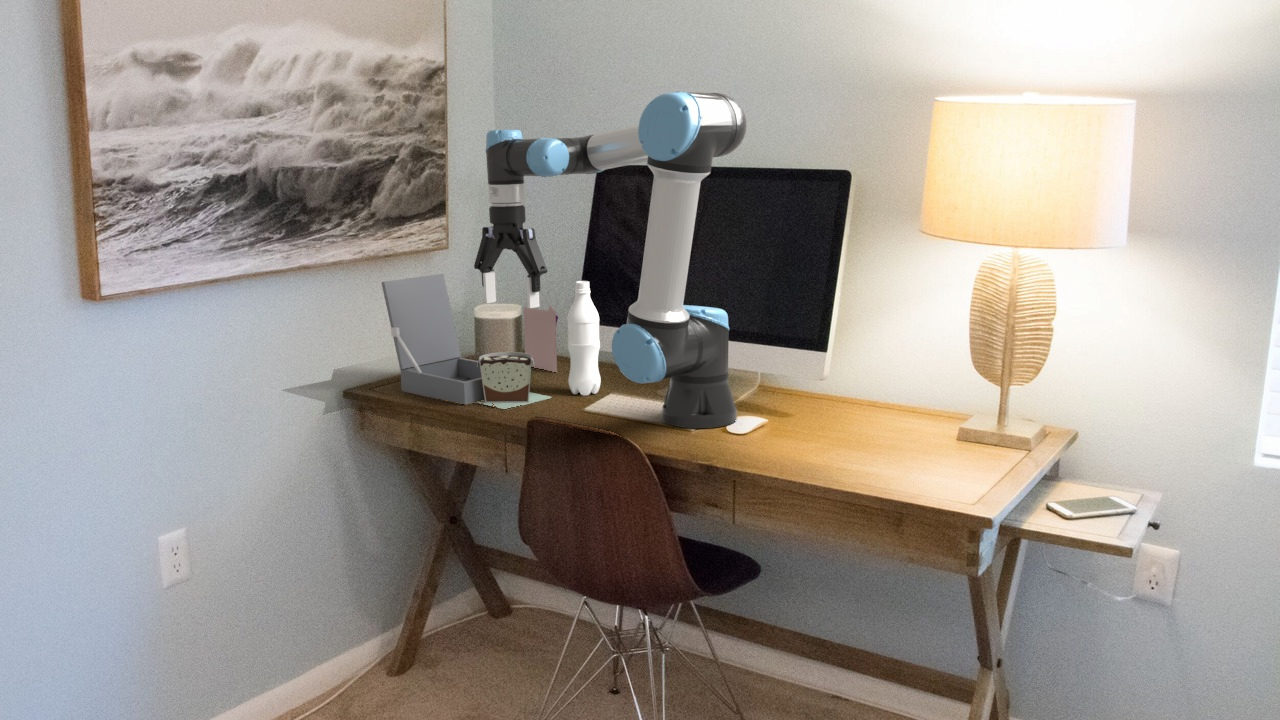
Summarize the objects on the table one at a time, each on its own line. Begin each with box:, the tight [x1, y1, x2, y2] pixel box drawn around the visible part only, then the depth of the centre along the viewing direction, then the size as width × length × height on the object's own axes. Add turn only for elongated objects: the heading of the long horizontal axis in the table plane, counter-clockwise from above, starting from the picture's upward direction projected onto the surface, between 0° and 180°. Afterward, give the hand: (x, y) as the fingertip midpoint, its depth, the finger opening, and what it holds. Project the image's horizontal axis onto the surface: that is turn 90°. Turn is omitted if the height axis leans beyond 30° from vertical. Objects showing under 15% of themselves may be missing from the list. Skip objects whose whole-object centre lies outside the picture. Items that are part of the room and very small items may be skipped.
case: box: [380, 273, 485, 404], centre depth 254 cm, size 27×17×25 cm, turn 49°
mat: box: [474, 391, 552, 410], centre depth 246 cm, size 9×14×1 cm, turn 139°
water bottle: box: [566, 280, 602, 397], centre depth 250 cm, size 7×7×25 cm
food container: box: [477, 351, 535, 403], centre depth 245 cm, size 12×6×10 cm, turn 89°
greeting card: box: [523, 304, 559, 374], centre depth 276 cm, size 11×7×15 cm, turn 12°
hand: (511, 305), depth 241 cm, fingers open, 13 cm apart
